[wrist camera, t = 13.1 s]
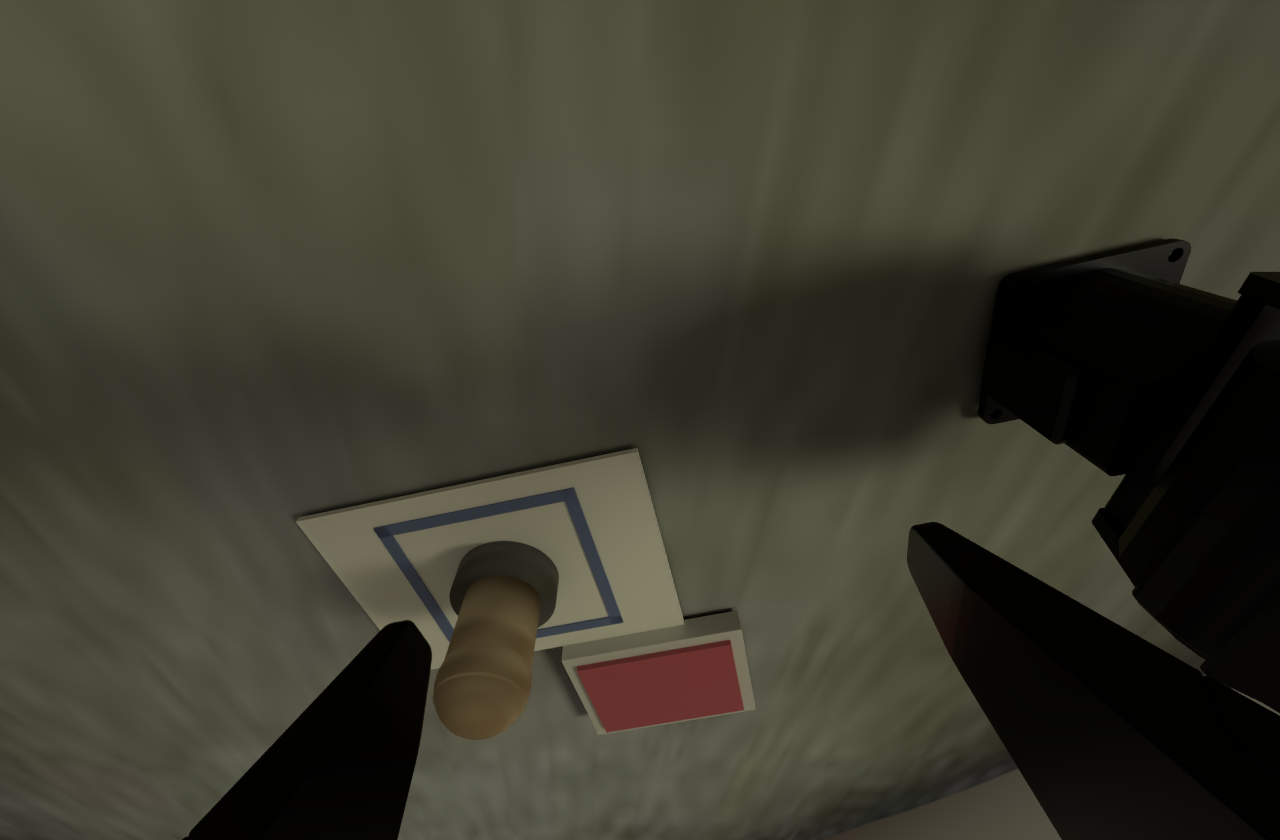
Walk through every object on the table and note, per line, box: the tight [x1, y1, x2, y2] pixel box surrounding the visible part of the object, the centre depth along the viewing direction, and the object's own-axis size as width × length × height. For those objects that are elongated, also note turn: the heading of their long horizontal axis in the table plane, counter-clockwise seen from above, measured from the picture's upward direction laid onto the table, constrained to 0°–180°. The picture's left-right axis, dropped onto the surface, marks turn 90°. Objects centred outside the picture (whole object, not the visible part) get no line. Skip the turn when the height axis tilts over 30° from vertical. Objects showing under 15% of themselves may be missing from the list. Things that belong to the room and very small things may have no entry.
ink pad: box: [561, 611, 756, 735], centre depth 29 cm, size 10×8×2 cm
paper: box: [296, 448, 684, 669], centre depth 25 cm, size 16×12×1 cm
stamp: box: [433, 541, 559, 740], centre depth 22 cm, size 5×5×8 cm
